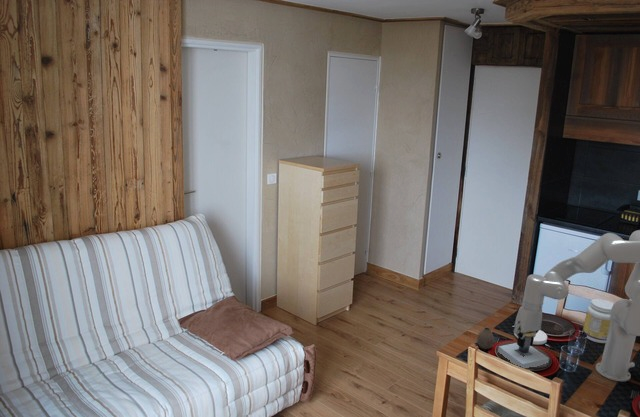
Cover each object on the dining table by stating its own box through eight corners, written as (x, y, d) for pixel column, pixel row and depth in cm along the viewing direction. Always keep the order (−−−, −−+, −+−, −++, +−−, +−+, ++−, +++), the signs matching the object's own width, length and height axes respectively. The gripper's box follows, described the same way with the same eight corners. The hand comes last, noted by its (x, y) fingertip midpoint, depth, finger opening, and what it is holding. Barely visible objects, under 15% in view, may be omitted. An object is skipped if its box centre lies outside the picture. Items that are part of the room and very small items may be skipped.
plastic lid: (507, 336, 243) (508, 331, 243) (523, 327, 252) (524, 322, 252) (536, 349, 233) (537, 344, 233) (552, 340, 242) (553, 335, 242)
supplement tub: (587, 328, 255) (594, 295, 251) (615, 338, 247) (622, 304, 242) (577, 336, 247) (584, 302, 242) (605, 347, 239) (613, 312, 234)
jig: (522, 349, 232) (524, 341, 231) (547, 366, 220) (549, 358, 219) (497, 354, 227) (498, 346, 226) (521, 372, 215) (522, 364, 213)
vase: (493, 352, 229) (496, 333, 226) (476, 349, 230) (479, 331, 228) (491, 344, 235) (494, 326, 233) (475, 341, 236) (478, 323, 234)
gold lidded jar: (523, 345, 226) (527, 326, 223) (534, 353, 221) (538, 333, 218) (512, 348, 224) (516, 328, 221) (523, 355, 218) (527, 335, 216)
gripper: (540, 298, 223) (533, 337, 228) (509, 303, 216) (502, 343, 221) (554, 306, 216) (546, 346, 221) (522, 311, 210) (515, 353, 215)
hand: (524, 344), depth 221 cm, fingers closed on gold lidded jar, 4 cm apart
